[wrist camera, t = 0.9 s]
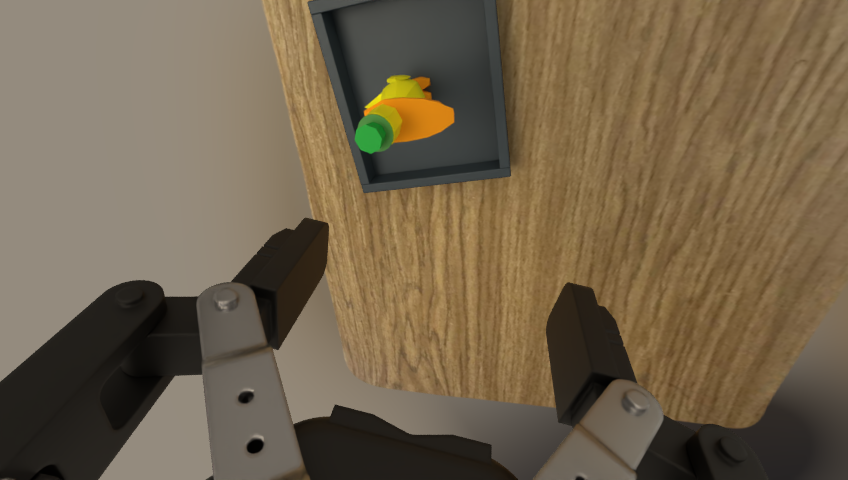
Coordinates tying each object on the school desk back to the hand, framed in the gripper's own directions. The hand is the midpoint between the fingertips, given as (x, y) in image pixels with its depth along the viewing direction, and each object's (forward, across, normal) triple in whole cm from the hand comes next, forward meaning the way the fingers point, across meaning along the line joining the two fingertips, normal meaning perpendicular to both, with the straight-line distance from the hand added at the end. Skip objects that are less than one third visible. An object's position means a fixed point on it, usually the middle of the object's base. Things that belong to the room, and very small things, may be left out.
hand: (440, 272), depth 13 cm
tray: (+22, +4, 0) cm, 22 cm away
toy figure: (+22, +4, 0) cm, 22 cm away
